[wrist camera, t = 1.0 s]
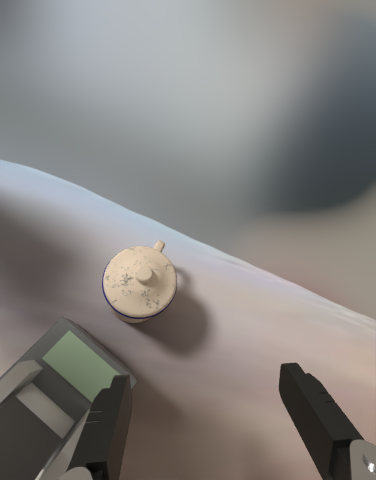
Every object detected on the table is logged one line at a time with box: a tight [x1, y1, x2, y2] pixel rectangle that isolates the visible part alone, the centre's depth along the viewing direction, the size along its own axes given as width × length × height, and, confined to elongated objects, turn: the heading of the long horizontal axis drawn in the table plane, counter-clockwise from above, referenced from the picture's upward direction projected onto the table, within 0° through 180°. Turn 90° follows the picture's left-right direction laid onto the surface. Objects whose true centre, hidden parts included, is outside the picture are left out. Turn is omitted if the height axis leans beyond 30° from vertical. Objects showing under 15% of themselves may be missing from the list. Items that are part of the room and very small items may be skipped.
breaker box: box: [0, 317, 137, 480], centre depth 21 cm, size 12×10×13 cm
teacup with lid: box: [102, 241, 177, 323], centre depth 29 cm, size 12×9×12 cm
